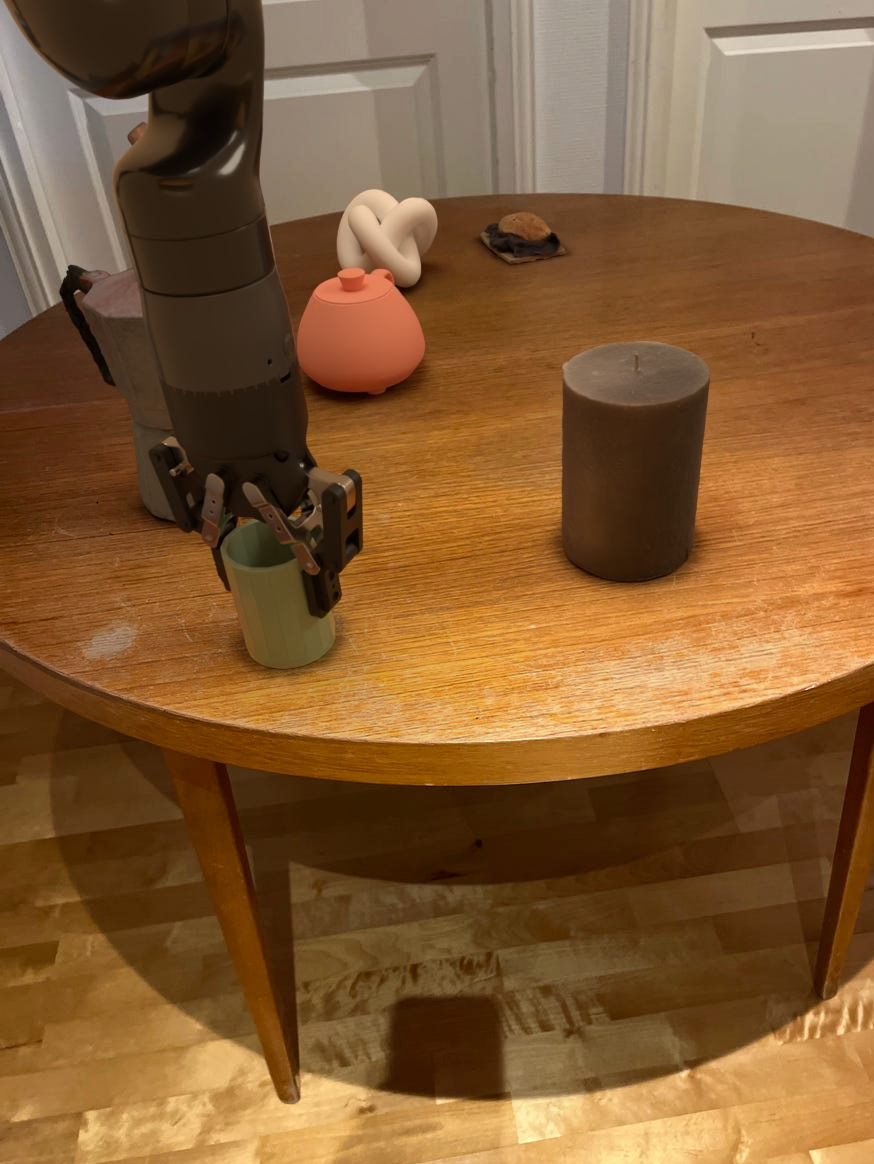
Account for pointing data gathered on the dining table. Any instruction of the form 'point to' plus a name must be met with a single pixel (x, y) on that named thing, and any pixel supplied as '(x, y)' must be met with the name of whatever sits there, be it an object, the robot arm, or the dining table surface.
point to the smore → (522, 238)
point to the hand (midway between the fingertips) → (282, 597)
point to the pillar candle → (632, 457)
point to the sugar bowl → (359, 333)
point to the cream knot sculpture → (386, 235)
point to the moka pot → (124, 363)
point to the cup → (273, 599)
